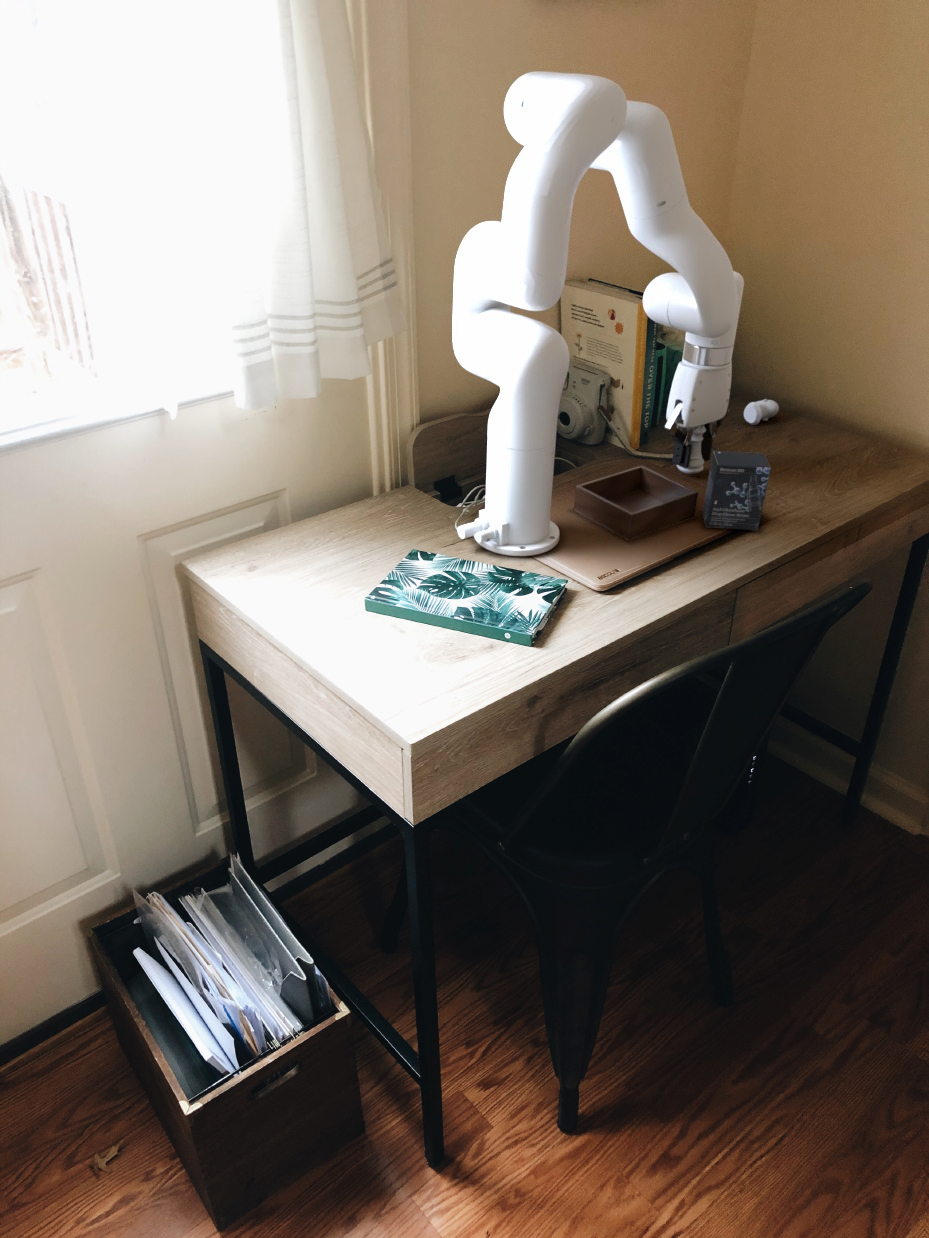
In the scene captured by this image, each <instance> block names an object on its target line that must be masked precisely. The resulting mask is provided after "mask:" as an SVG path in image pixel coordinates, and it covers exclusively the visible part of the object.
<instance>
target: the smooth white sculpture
mask: <svg viewBox="0 0 929 1238" xmlns="http://www.w3.org/2000/svg"><path fill="white" fill-rule="evenodd" d="M779 410H780V407H779V404H778V402H777V401H775V400H772V399H768V398H764V399H761V400H757V401H751V402H749V403H748V404H747V405H746V406H745V408H744V410H743V418H744V420H745V421H746V422H747V423H748V424H749V425H752V426H756V425H758V424H759V423H760V422H761V421H767V422H768V421H769V419H771V418H773V417H775V416H776V415H777V414H778V412H779Z"/></svg>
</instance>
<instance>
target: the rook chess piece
mask: <svg viewBox="0 0 929 1238" xmlns="http://www.w3.org/2000/svg"><path fill="white" fill-rule="evenodd" d="M704 425H705V424H704ZM704 425H700V426H697V427H694V430H693V434H692V437H691V440H690V443H689V444H690V445H692V449H691V455H690V462H689V466H688V467H687V468H683V467H681V466H679V465H677V464H676V467H677V469H678V470H679V471H680V472H682V473H685V474H690V475H692V474H694V475H695V474H699V473H701V472H702V471H703V470H704V465H705V461H704V460H703V458H702V455H701V442H702V440H703V437H702V435H703V433H704V432H705V431H706V429H705V427H704ZM686 430H687V429H685V431H686Z"/></svg>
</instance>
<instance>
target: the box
mask: <svg viewBox="0 0 929 1238" xmlns="http://www.w3.org/2000/svg"><path fill="white" fill-rule="evenodd" d="M710 460H711V461H710V467H709V472H708V478H707V482H706V483H707V484H706V489H705V495H704V499H703V506H702V516H703V521H704V524H705V528H707V529H712V528H713V529H730V530H740V531H741V530H743V531H751V532H753V531H754V532H756V531H757V532H758V530H759V528H760V527H759V526H760V521H761V517H762V513H763V507H764V503H765V497H766V493H767V490H768V489H767V488H768V484H769V480H770V474H771V470H772V469H771V465H770V463H769V460H768V458H767V456H766V453H764V452H745V451H744V452H743V451H726V450H725V451H723V450H718V449H717V450H715V449H713V450H712V454H711V459H710Z"/></svg>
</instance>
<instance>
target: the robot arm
mask: <svg viewBox="0 0 929 1238" xmlns="http://www.w3.org/2000/svg"><path fill="white" fill-rule="evenodd" d="M503 117H504V123H505V125H506V128H507V130H508V133H509V134H510V135H511V136H512V138H513V139H514V140H515V141H516V142H517V143H518V144H520V145H521V146H524V147H523V148H522V149H521V151H520V152H519V154H518V156H517V157H516V158H515V160H514V162H513V164H512V165H511V168H510V170H509V172H508V175H507V179H506V182H505V183H506V184H505V188H504V196H503V204H502V205H503V206H502V213H501V221H500V220H487V221H482V222H480V223H478V224H476V225H475V226H473V227H472V228H471V229H469V231H467V233H466V234H465V236H464V237H463V239H462V241H461V243H460V245H459V247H458V250H457V253H456V256H455V261H454V272H453V295H452V296H453V297H452V329H451V330H452V331H451V332H452V335H451V336H452V348H453V351H454V356H455V358H456V360H457V362H458V363H459V365H460V366H461V367H462V369H464V370H465V371H467V372H469V373H470V374H472V375H475V376H477V377H478V378H481V379H483V380H486V381H488V382H491V383H492V384H494V385H496V386H498V387H499V389H500V391H499V395H498V397H497V399H496V400H495V402H494V404H493V406H492V408H491V410H490V412H489V415H488V420H487V439H486V440H487V442H486V443H487V445H486V470H485V471H486V473H485V475H486V477H485V500H484V501H485V505H484V508H483V509H480V510H478V517H477V518H475V519H474V521H473V522H468V523H465V524H461V525H459V526H458V527H457V529H456V531H457V536H458V537H459V538H460V539H462V540H465V539H467V538H470V537H473V538H474V540H475V541H476V543H477V544H479V545H480V546H481V547H482V548H484V549H486V550H488V551H489V552H492V553H495V554H499V555H504V556H510V557H529V556H530V557H531V556H536V555H540V554H544V553H546V552H548V551H551V550H552V549H553V548H554V547H556V546H557V545H558V543H559V541H560V529H559V527H558V525H557V524H556V523H555V522H553V521H552V520H551V511H552V497H553V485H554V470H555V458H556V457H555V456H556V443H557V430H558V429H557V428H558V417H559V410H560V403H561V398H562V394H563V389H564V387H565V382H566V379H567V376H568V372H569V367H570V361H571V360H570V359H571V358H570V357H571V356H570V349H569V346H568V343H567V341H566V340H565V338H564V336H562V334H561V333H560V332H559V331H557V329H555V328H553V327H552V326H550V325H549V324H547V323H545V322H542V321H540V320H537V319H534V318H532V317H529V316H526V315H523V314H518V313H515V312H512V311H511V306H512V307H515V308H518V309H522V310H526V311H530V312H542V311H547V310H549V309H550V308H552V307H554V306H555V305H556V304H557V303H558V301H559V300H560V299H561V296H562V294H563V290H564V287H565V282H566V276H567V275H566V274H567V267H568V256H569V246H570V245H569V244H570V234H571V224H572V223H571V222H572V214H573V205H574V200H575V196H576V192H577V190H578V187H579V185H580V183H581V180H582V179H583V178H584V175H585V174H586V173H587V171H588V170H589V169H594V170H600V171H606V172H609V173H610V174H611V175H612V177H613V181H614V184H615V186H616V187H615V188H616V190H617V194H618V197H619V199H620V202H621V206H622V209H623V213H624V217H625V220H626V223H627V224H626V225H627V227H628V229H629V232H630V234H631V235H632V236H633V237H634V238H635V239H636V240H637V241H638V242H639V243H640V244H642V245H643V246H644V247H645V248H646V250H649V251H650V252H651V253H653V254H655V256H657V257H659V258H660V259H661V260H662V261H665V262H666V263H667V264H668V265H670V266H671V267H672V268H673V269H674V270H675V271H677V272H666V273H662V274H660V275H658V276H656V277H654V279H652V280H651V281H650V282H649V283H648V284H647V286H646V288H645V289H644V292H643V295H642V296H643V297H642V307H643V310H644V313H645V314H646V316H647V317H648V318H649V319H650V320H652V321H653V322H655V323H657V324H659V325H662V326H664V327H665V326H666V327H668V328H671V329H674V330H679V331H683V332H685V335H684V345H683V350H682V356H681V357H682V359H681V361H679V362H678V364H677V366H676V370H675V373H674V375H673V379H672V382H671V388H670V391H669V395H668V402H667V407H666V414H665V418H666V423H665V424H664V426H663V430H664V431H665V432H666V433H668V434H669V436H671V438H672V441H673V442H674V445H673V452H672V459H671V462H672V463H673V464H675V465H676V466H677V465H679V466H681V467H683V468H687V467H688V466H689V462H690V455H691V449H692V445H690V444H689V443H690V440H691V437H692V434H693V430H694V427H697V426H700V425H704V424H705V425H704V427H705V429H706V431H705V432H704V433H703V435H702V437H703V440H702V442H701V455H702V458H703V460H704V462H709V461H710V460H711V457H712V449H713V443H714V439H715V438H716V437H717V434H718V429H719V428H720V427H721V425H722V424H723V421H724V420H725V419H726V418H727V417H728V416H729V414H730V409H729V403H730V395H731V387H732V376H733V375H732V369H733V363H732V362H733V361H732V357H733V352H734V347H735V341H736V335H737V329H738V324H739V323H738V322H739V317H740V312H741V311H740V310H741V306H742V299H743V294H744V289H745V288H744V287H745V281H744V277H743V276H742V274H741V273H739V272H738V271H735V270H734V269H733V265H732V263H731V260H730V258H729V255H728V253H727V252H726V250H725V249H724V247H723V245H722V243H720V241H719V240H718V239H717V237H716V236H715V235H714V234H713V232H712V231H711V230H710V228H709V227H708V226H707V225H706V224H705V222H704V221H703V220H702V218H701V217H700V216H699V215H698V214H697V213H696V211H694V209H693V208H692V206H691V204H690V201H689V197H688V192H687V188H686V185H685V181H684V176H683V172H682V168H681V164H680V160H679V155H678V151H677V149H676V143H675V140H674V136H673V135H674V134H673V131H672V127H671V124H670V121H669V119H668V117H667V115H666V114H665V112H664V111H663V110H662V109H661V108H659V107H658V106H655V104H652V103H649V102H643V101H638V100H637V101H636V100H630V99H629V100H628V99H627V96H626V93H625V91H624V89H623V88H622V87H621V86H620V84H618V83H617V82H615V81H613V80H612V79H609V78H607V77H604V76H600V75H595V74H586V73H574V72H557V71H547V70H546V71H545V70H540V71H539V70H538V71H537V70H535V71H530V72H526V73H524V74H523V75H521V76H518V78H516V79H515V80H514V82H513V83H512V84H511V86H509V89H508V91H507V93H506V96H505V99H504V103H503ZM686 429H687V430H686ZM683 430H685V432H683Z"/></svg>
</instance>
